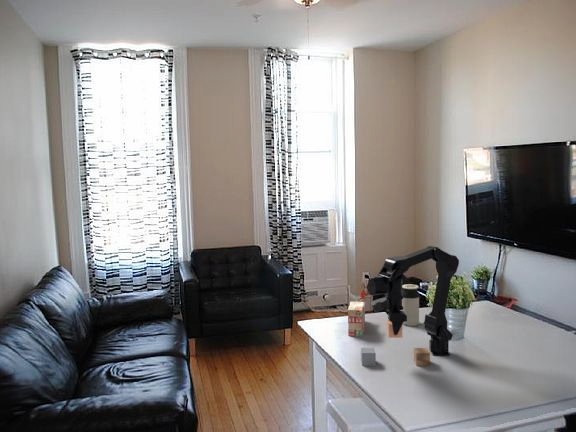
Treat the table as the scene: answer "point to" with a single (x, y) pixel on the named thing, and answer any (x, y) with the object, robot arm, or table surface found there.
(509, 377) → the table surface
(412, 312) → the travel mug
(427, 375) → the table surface
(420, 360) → the walnut cube
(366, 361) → the grey cube
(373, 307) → the robot arm
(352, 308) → the stack of blocks
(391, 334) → the terracotta cube
